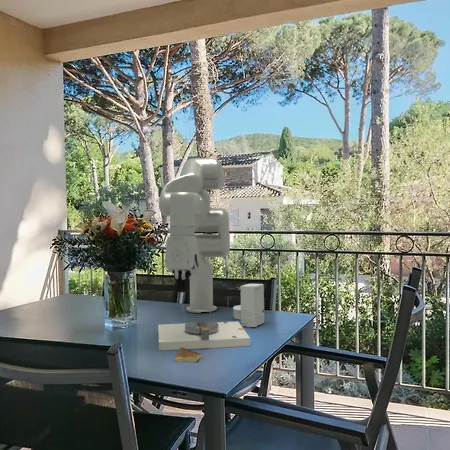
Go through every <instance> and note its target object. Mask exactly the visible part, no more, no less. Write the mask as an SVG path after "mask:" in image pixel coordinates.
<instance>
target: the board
mask: <svg viewBox="0 0 450 450" xmlns="http://www.w3.org/2000/svg"><path fill="white" fill-rule="evenodd" d="M215 322H216V323H218V331H217V332H215V333H212V334H209V340H202V339H201V336H200V335H197V334H190V333H187V332H185V324H186V323H167V324H158V325H157V326H158V330H157V331H158V351H176V350H178V351H179V350H180V348H184V349H187V350H197V349H216V348H241V347H250V346H251V337H250V335H249V334H248V333H247V332H246V330H245V329H244V326H241V322H239V320H237V321H219V322H218V321H215Z"/></svg>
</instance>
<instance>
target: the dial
mask: <svg viewBox="0 0 450 450" xmlns="http://www.w3.org/2000/svg"><path fill="white" fill-rule="evenodd" d="M216 322H217V321H213V320H212V321H211V320H194V321H189V322H187V323H184V324H185V332H187V333H190V334H197V335H200V336H201V339H202V340H209V334H212V333H215V332H217V331H218V323H216Z"/></svg>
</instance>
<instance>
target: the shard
mask: <svg viewBox="0 0 450 450" xmlns="http://www.w3.org/2000/svg"><path fill="white" fill-rule="evenodd" d="M203 357H204V355H203V354H201V353H199V352H196V351H194V350H192V349H184V348H180V350H178V352H177V353H176V355H175V360H174V361H175V362H176V363H196V362H198V361H199V360H201V359H203Z"/></svg>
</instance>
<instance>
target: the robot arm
mask: <svg viewBox="0 0 450 450" xmlns="http://www.w3.org/2000/svg"><path fill="white" fill-rule="evenodd" d="M225 181H226V177H225V171H224V168H223V165H222V162H221V161H220V160H219V159H218V158H215V157H194V158H189V159H187V160H186V161H185V162H184V163H183V164H182V168H181V171H180V174H179V176H178V177H176V178H174V179H173V180H170V181H169V182H167V183H166V184H164V186H163V187H162V190H161V192H160V196H159V199H158V209H159V212H160V213H161V214H162V215H164V216H166V217H169V228H167V233H169V236H167V240H166V243H165V251H164V253H165V254H164V255H165V256H164V266H165V268H166V269H167V272H169V273H171V274H173V275H174V277H175V278H174V279H176V282H177V283H176V287H177V290H176V291H177V292H178V293H186V292H188V291H189V305H188V306H186V309H185V310H186V311H187V312H188V313H194V314H202V313H201V312H209V313H211V312H210V311H214V310H216V309H217V310H218V307H217V306H216V305H214V296H213V294H214V291H213V290H214V287H213V286H214V285H213V284H214V283H213V277H214V276H213V272H214V269H213V266H212V264H211V263H210V262H209V260H208V259H207V258H225V257H228V255H229V254H230V250H231V249H230V248H231V246H230V245H231V244H230V243H231V241H230V238H231V237H230V217H229V213H228V211H227V209H225V208H221V207H220V208H218V207H216V208H215V207H214V208H212V207H211V196H210V194H209V192H208V191H207V190H209V191H210V190H213V191H215V190H217V191H218V190H221V189H222V188H223V187H224V185H225V184H226V183H225ZM195 232H201V234H200V233H198V234H197V233H196V234H195ZM203 232H204V233H203ZM205 232H208V233H209V232H211V233H212V232H215V233H216V232H217V234H215V233H214V234H210V233H209V234H208V233H205ZM217 310H216V311H217ZM214 312H215V311H214Z"/></svg>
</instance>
